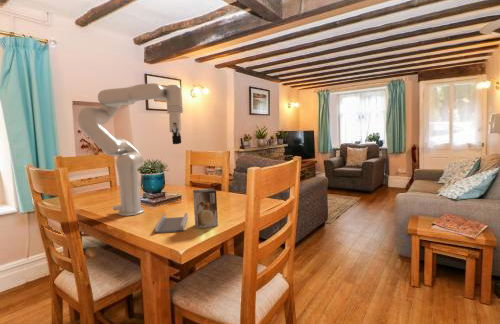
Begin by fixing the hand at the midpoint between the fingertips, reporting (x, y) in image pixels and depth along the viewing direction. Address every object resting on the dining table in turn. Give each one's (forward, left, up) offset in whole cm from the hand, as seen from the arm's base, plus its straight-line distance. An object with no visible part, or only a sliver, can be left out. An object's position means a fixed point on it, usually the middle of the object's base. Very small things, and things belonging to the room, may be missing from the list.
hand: (177, 143), depth 143 cm
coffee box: (+14, -25, -36) cm, 46 cm away
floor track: (-1, -22, -36) cm, 42 cm away
